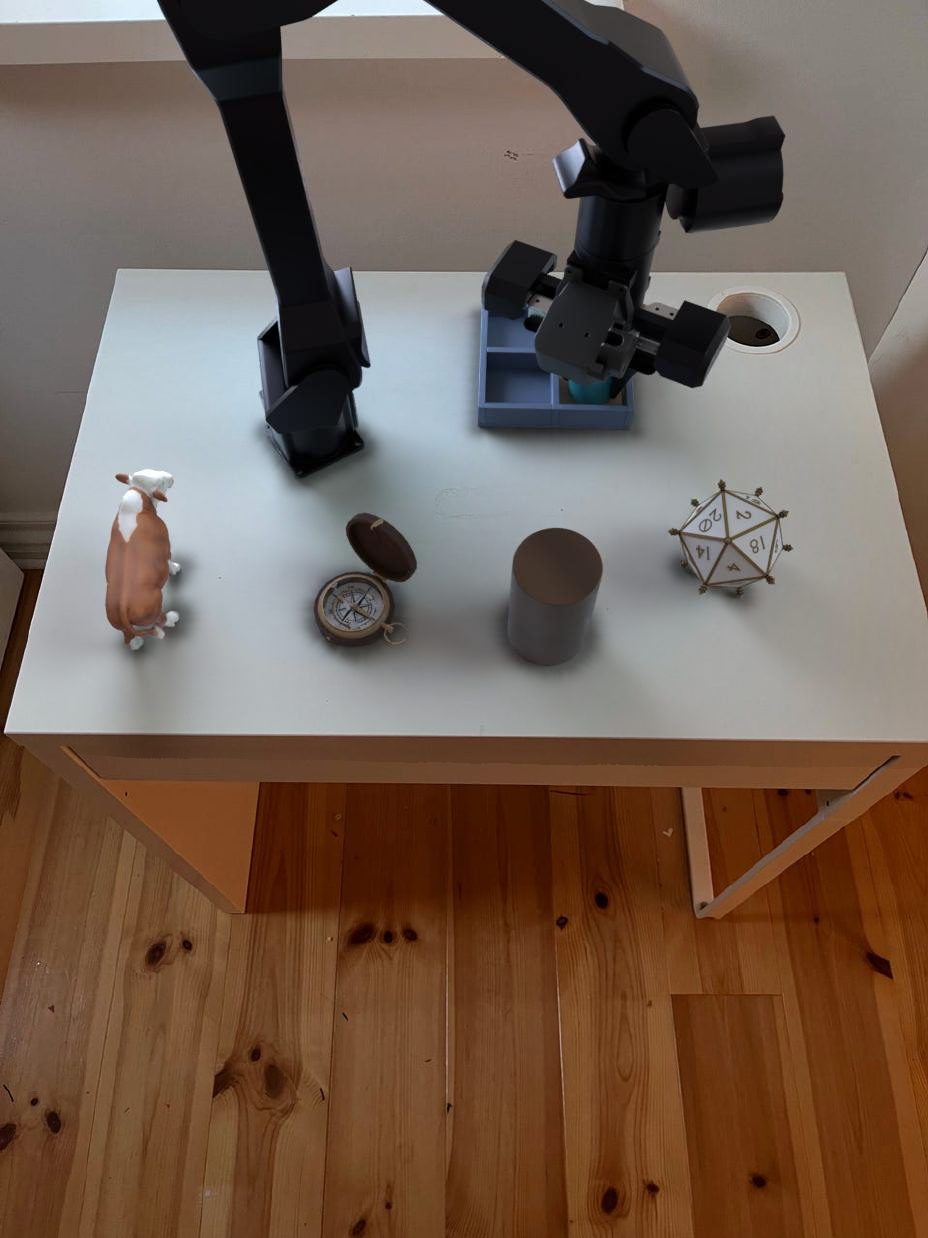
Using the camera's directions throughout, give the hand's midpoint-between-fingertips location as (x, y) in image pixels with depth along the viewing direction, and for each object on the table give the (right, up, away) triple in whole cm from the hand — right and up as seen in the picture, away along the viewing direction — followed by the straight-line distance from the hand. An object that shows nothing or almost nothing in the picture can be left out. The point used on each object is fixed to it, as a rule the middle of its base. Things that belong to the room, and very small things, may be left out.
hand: (590, 386), depth 77 cm
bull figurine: (-35, -17, -7) cm, 39 cm away
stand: (-5, -21, -9) cm, 23 cm away
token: (0, 0, 0) cm, 0 cm away
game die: (+9, -16, -6) cm, 19 cm away
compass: (-18, -19, -8) cm, 28 cm away
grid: (-3, +2, +3) cm, 5 cm away
